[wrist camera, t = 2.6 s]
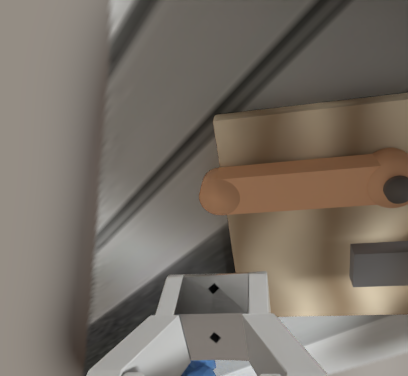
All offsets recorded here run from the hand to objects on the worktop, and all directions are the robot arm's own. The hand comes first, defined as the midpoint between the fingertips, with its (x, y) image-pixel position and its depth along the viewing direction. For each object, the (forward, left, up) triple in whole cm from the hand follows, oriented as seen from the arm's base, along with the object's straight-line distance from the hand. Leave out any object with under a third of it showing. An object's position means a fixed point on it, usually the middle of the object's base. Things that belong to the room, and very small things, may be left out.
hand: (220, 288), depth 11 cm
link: (-4, +5, -17) cm, 19 cm away
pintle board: (-7, +11, -19) cm, 23 cm away
